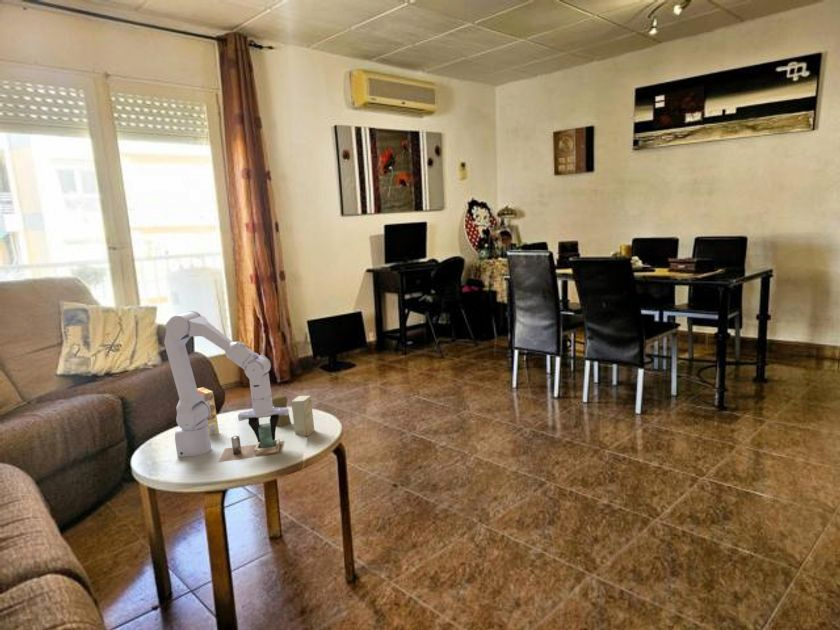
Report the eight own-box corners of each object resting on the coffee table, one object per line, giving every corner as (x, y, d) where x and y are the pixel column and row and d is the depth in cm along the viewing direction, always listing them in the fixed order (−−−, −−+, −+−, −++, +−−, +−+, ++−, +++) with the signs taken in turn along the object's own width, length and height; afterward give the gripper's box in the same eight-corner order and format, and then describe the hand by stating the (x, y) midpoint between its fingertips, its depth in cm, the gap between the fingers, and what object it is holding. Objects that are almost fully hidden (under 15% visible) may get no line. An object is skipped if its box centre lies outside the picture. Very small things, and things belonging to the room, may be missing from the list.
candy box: (219, 434, 183) (214, 390, 181) (207, 438, 181) (201, 394, 178) (209, 428, 190) (203, 386, 187) (197, 432, 187) (191, 389, 185)
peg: (260, 450, 163) (258, 428, 162) (262, 446, 167) (259, 424, 166) (273, 448, 164) (270, 426, 163) (274, 444, 167) (271, 422, 166)
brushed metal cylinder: (232, 455, 162) (230, 439, 162) (233, 451, 165) (231, 436, 164) (240, 453, 163) (238, 438, 162) (242, 450, 165) (240, 435, 164)
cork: (286, 421, 191) (282, 391, 190) (294, 425, 187) (291, 394, 185) (270, 426, 187) (266, 396, 186) (278, 430, 183) (275, 399, 181)
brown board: (219, 464, 158) (217, 456, 158) (225, 451, 168) (224, 443, 168) (282, 456, 161) (281, 448, 161) (284, 443, 171) (283, 436, 170)
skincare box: (307, 437, 175) (303, 401, 173) (294, 437, 176) (290, 401, 174) (314, 430, 181) (311, 395, 179) (302, 430, 182) (298, 395, 180)
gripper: (287, 390, 167) (292, 432, 170) (238, 395, 165) (244, 438, 167) (285, 397, 161) (290, 440, 163) (234, 402, 158) (240, 446, 160)
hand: (266, 439), depth 165 cm, fingers closed on peg, 3 cm apart
